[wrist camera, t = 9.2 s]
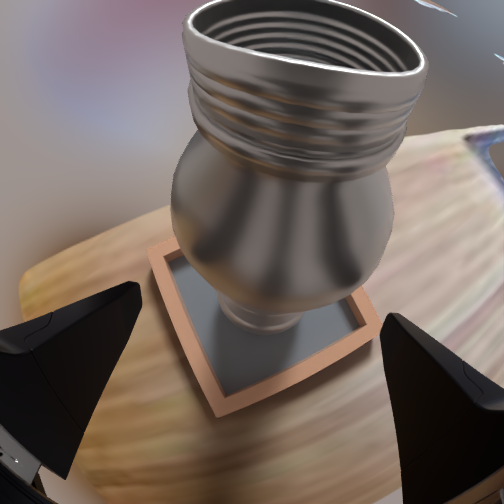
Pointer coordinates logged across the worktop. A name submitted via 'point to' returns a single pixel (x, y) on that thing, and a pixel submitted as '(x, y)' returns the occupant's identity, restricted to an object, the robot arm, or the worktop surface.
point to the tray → (253, 336)
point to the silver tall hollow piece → (290, 152)
